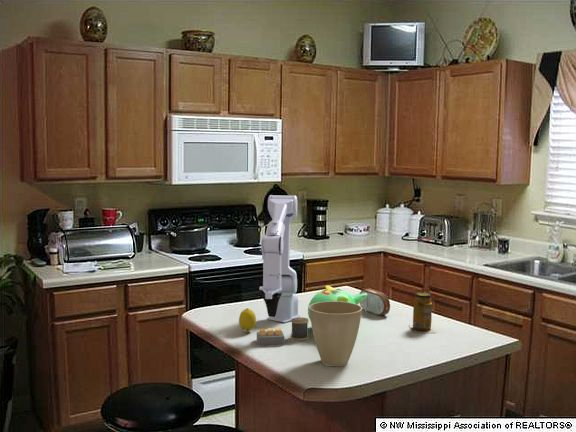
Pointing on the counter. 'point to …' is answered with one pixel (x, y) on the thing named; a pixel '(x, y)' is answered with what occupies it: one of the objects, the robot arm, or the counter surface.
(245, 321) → the lemon
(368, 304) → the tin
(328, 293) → the green toy teapot
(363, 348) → the counter surface
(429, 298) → the condiment
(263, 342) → the breaker strip
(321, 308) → the plant pot
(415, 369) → the counter surface
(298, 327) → the cord spool
